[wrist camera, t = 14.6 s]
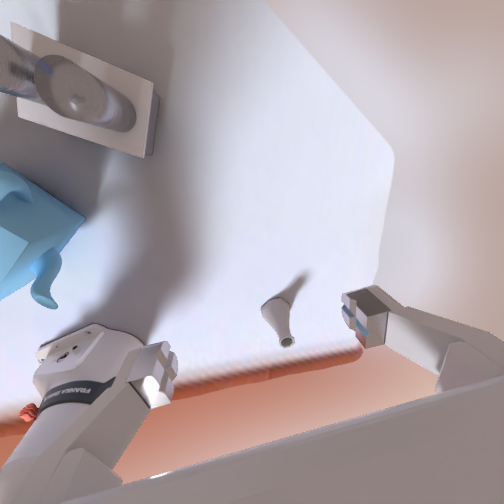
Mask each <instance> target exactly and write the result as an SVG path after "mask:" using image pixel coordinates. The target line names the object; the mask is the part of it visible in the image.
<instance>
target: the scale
mask: <svg viewBox="0 0 504 504" xmlns="http://www.w3.org/2000/svg"><path fill="white" fill-rule="evenodd" d="M10 23H11V35H12V42H14V43H16V44H17V45H19V46H21V47H23V48H25V49H26V50H28V51H30V52H32V53H33V54H35V55H37V56H39V57H40V58H42V57H44V56H47V55H60V56H63V57H65V58H67V59H69V60H71V61H72V62H74V63H75V64H77V65H79V66H80V67H82V68H83V69H85V70H86V71H88V72H89V73H91V74H92V75H94V76H96V77H97V78H99V79H100V80H102V81H103V82H105V83H106V84H108V85H110V86H111V87H113V88H114V89H116V90H117V91H119V92H120V93H122V94H123V95H125V96H126V97H127V98H128V99H129V100H130V101H131V103H132V104H133V106H134V109H135V112H136V122H135V125H134V127H133V128H132V129H131V130H130V131H128V132H123V133H121V132H116V131H112V130H109V129H105V128H101V127H98V126H94V125H90V124H87V123H83V122H79V121H76V120H72V119H68V118H65V117H62V116H60V115H58V114H57V113H55V112H54V111H53V110H51V109H50V108H49V107H48V106H45V105H42V104H39V103H35V102H32V101H29V100H26V99H22V98H19V97H17V109H18V117H20V118H23V119H26V120H29V121H32V122H35V123H38V124H41V125H44V126H47V127H50V128H53V129H56V130H59V131H62V132H65V133H68V134H71V135H74V136H77V137H80V138H83V139H85V140H88V141H91V142H94V143H97V144H100V145H103V146H106V147H109V148H112V149H115V150H118V151H121V152H124V153H127V154H130V155H133V156H136V157H139V158H142V159H144V156H145V154H151V155H152V152H153V144H154V137H155V130H156V123H157V116H158V108H159V101H160V97H159V96H158V95H157V94H156V93H155V92H154V91H153V85H154V83H153V82H151V81H149V80H146V79H144V78H142V77H139V76H137V75H135V74H132V73H130V72H128V71H125V70H123V69H121V68H118V67H116V66H114V65H111V64H109V63H107V62H104V61H102V60H100V59H97V58H95V57H93V56H90V55H88V54H86V53H83V52H81V51H79V50H76V49H74V48H72V47H69V46H67V45H65V44H62V43H60V42H58V41H55V40H53V39H51V38H48V37H46V36H44V35H41V34H39V33H37V32H34V31H32V30H30V29H27V28H25V27H23V26H20V25H18V24H16V23H13V22H11V21H10Z"/></svg>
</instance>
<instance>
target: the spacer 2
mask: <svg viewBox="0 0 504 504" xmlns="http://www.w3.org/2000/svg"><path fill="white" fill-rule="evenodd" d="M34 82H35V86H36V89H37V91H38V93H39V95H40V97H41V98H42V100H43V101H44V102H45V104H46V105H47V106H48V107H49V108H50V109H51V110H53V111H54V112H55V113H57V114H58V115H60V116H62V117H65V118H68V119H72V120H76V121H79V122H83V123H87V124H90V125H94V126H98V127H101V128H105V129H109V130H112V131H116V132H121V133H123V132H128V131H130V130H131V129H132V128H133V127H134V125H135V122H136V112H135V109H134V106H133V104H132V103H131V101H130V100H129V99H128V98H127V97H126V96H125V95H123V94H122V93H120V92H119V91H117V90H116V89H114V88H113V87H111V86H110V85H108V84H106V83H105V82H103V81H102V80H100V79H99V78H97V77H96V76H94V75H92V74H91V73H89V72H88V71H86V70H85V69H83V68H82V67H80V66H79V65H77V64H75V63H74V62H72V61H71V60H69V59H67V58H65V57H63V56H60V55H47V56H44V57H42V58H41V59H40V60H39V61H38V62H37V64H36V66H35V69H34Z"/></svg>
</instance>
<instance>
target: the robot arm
mask: <svg viewBox="0 0 504 504" xmlns="http://www.w3.org/2000/svg"><path fill="white" fill-rule="evenodd" d="M341 301H342V302H343V303H344V305H343V307H342V315H343V318H344V321H345V322H346V324H347V326H348V327H349V328H350V329H352V330H354V331H356V337H357V339H358V340H359V341H360V343H361V344H362V345H363V346H364V348H365V349H366V348H370V347H374V346H379V345H383V344H385V345H386V346H388V347H389V348H391V349H393V350H394V351H396V352H398V353H400V354H401V355H403V356H405V357H406V358H408V359H410V360H412V361H413V362H415V363H417V364H419V365H420V366H422V367H424V368H426V369H427V370H429V371H431V372H433V373H434V374H436V375H438V376H439V377H438V380H437V383H436V388H435V391H436V392H437V393H438V394H435V395H431V396H428V397H424V398H421V399H417V400H414V401H411V402H407V403H404V404H400V405H397V406H393V407H390V408H386V409H383V410H379V411H376V412H372V413H370V414H366V415H362V416H359V417H355V418H352V419H348V420H345V421H341V422H338V423H334V424H331V425H327V426H324V427H321V428H317V429H314V430H310V431H307V432H303V433H300V434H296V435H293V436H289V437H286V438H283V439H279V440H276V441H272V442H269V443H265V444H262V445H258V446H255V447H252V448H248V449H245V450H241V451H238V452H235V453H231V454H227V455H224V456H220V457H217V458H214V459H210V460H207V461H203V462H200V463H197V464H193V465H189V466H186V467H183V468H179V469H176V470H172V471H169V472H165V473H162V474H158V475H155V476H151V477H148V478H145V479H141V480H138V481H134V482H131V483H127V484H124V485H122V479H121V477H120V476H119V475H117V474H116V473H115V472H114V471H112V470H113V468H114V466H115V465H116V463H117V462H118V460H119V459H120V457H121V456H122V454H123V452H124V451H125V449H126V448H127V446H128V445H129V443H130V442H131V440H132V439H133V437H134V435H135V434H136V432H137V431H138V429H139V428H140V426H141V425H142V423H143V421H144V420H145V418H146V417H147V415H148V413H149V412H150V411H151V410H150V409H152V408H156V407H159V406H162V405H165V404H168V403H171V401H172V396H173V391H174V387H175V386H174V384H173V382H172V381H173V380H174V379H175V377H176V376H177V372H178V360H177V357H176V355H175V353H173V352H171V351H169V350H170V347H171V346H170V345H169V343H168V341H163V342H159V343H155V344H150V345H146V346H144V345H143V344H142V343H141V342H140V341H139V340H138V339H137V338H135V337H134V336H132V335H130V334H127V333H124V332H121V331H115V330H110V329H107V328H105V327H103V326H101V325H98V324H92V325H89V326H87V327H85V328H83V329H80V330H78V331H76V332H74V333H71V334H69V335H67V336H65V337H63V338H60V339H58V340H56V341H54V342H51V343H49V344H47V345H45V346H43V347H41V348H39V349H38V351H37V352H36V358H37V360H38V362H39V364H40V366H39V367H38V369H37V370H36V371H35V373H34V375H33V384H34V386H35V388H36V389H37V391H38V392H39V394H40V395H41V397H42V398H43V400H42V402H41V405H40V407H39V408H37V407H36V405H35V404H34V403H31V404H28V405H27V406H26V407H24V408H23V410H21V411H20V413H19V415H18V416H19V417H21V418H23V419H25V421H26V422H27V421H30V420H32V419H33V420H34V421H35V422H34V423H33V424H32V426H31V427H30V429H29V430H28V431H27V433H26V434H25V435H24V437H23V438H22V440H21V441H20V442H19V444H18V445H17V447H16V448H15V450H14V451H13V452H12V454H11V455H10V456H9V458H8V459H7V461H6V462H5V464H4V465H3V466H2V468H1V469H0V504H504V342H503V341H501V340H500V339H498V338H497V337H495V336H494V335H492V334H491V333H489V332H487V331H484V330H480V329H477V328H473V327H471V326H468V325H465V324H462V323H458V322H455V321H452V320H449V319H446V318H443V317H439V316H436V315H433V314H430V313H427V312H423V311H421V310H418V309H414V308H411V307H404V306H402V305H401V304H400V303H398V302H397V301H396V300H395V299H393V298H392V297H391V296H390V295H388V294H387V293H386V292H384V291H383V290H382V289H381V288H380V287H378V286H376V285H371V286H368V287H364V288H361V289H357V290H354V291H350V292H347V293H343V294H342V296H341Z"/></svg>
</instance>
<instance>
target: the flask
mask: <svg viewBox="0 0 504 504" xmlns="http://www.w3.org/2000/svg"><path fill="white" fill-rule="evenodd" d="M261 311H262V316H263V318H264V319H265V320H266V321H267V322H268V323H269V324H270V326H271V327H272V328H273V329H274V330H275V331H276V333H277V335H278V337H279V343H280V346H281V347H283V348H287V347H291V346H292V345H293V344H294V343H295V341H294V337H292V336H291V333H290V330H289V316H290V311H289V303H287V302H286V301H285V300H283V299H282V298H277V299H272V300H269V301H268V302H267V303H266V304H265V305H264V306H262V307H261Z"/></svg>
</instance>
